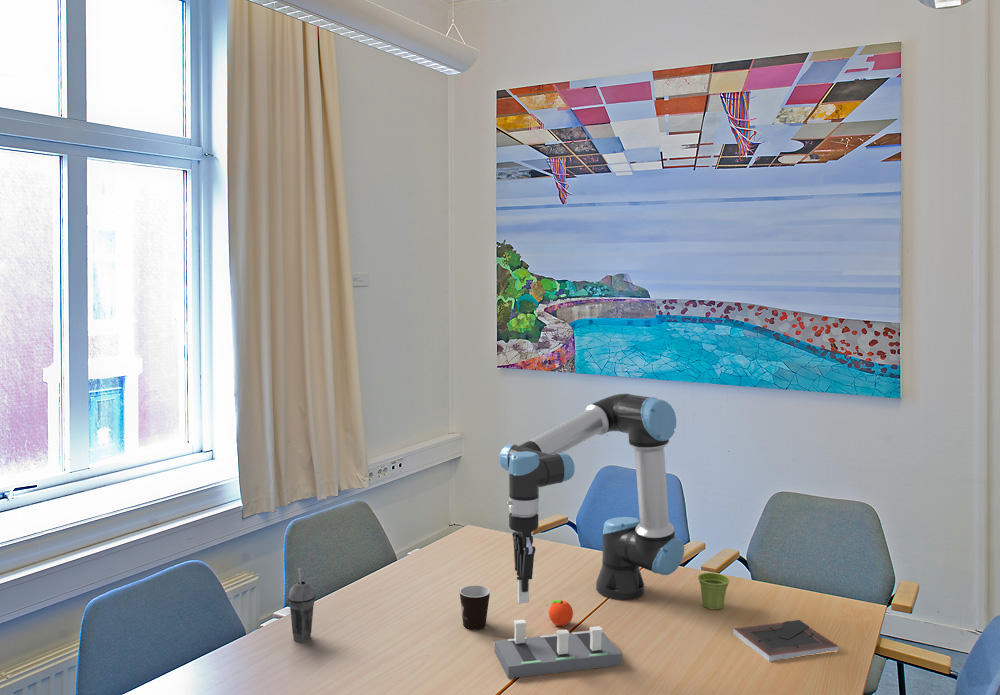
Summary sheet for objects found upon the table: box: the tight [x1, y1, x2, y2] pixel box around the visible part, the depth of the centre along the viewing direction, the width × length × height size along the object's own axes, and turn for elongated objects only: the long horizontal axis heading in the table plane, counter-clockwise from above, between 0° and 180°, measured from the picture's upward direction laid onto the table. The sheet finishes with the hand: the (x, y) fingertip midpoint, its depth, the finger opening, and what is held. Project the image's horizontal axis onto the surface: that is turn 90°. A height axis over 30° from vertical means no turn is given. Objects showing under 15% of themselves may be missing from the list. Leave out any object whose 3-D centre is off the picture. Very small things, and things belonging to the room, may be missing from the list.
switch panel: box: [493, 630, 623, 679], centre depth 201 cm, size 30×14×3 cm, turn 105°
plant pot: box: [697, 572, 731, 611], centre depth 236 cm, size 9×9×9 cm
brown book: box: [732, 619, 840, 662], centre depth 213 cm, size 16×2×22 cm
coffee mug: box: [459, 584, 491, 631], centre depth 221 cm, size 12×9×10 cm
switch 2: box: [588, 625, 604, 651], centre depth 199 cm, size 3×2×6 cm
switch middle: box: [555, 629, 570, 655], centre depth 197 cm, size 3×2×6 cm
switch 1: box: [513, 619, 527, 644], centre depth 203 cm, size 3×2×6 cm
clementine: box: [547, 599, 574, 627], centre depth 221 cm, size 8×7×7 cm
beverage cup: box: [287, 567, 316, 643], centre depth 210 cm, size 7×7×20 cm
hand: (523, 601), depth 201 cm, fingers closed
